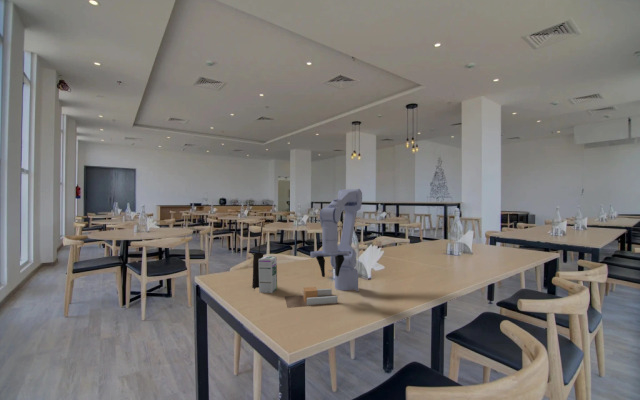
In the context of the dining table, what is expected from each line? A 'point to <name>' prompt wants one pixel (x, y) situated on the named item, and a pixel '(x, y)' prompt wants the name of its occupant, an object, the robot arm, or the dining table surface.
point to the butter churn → (256, 265)
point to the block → (310, 293)
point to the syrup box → (268, 274)
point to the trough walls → (322, 299)
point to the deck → (300, 301)
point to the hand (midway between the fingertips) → (330, 276)
